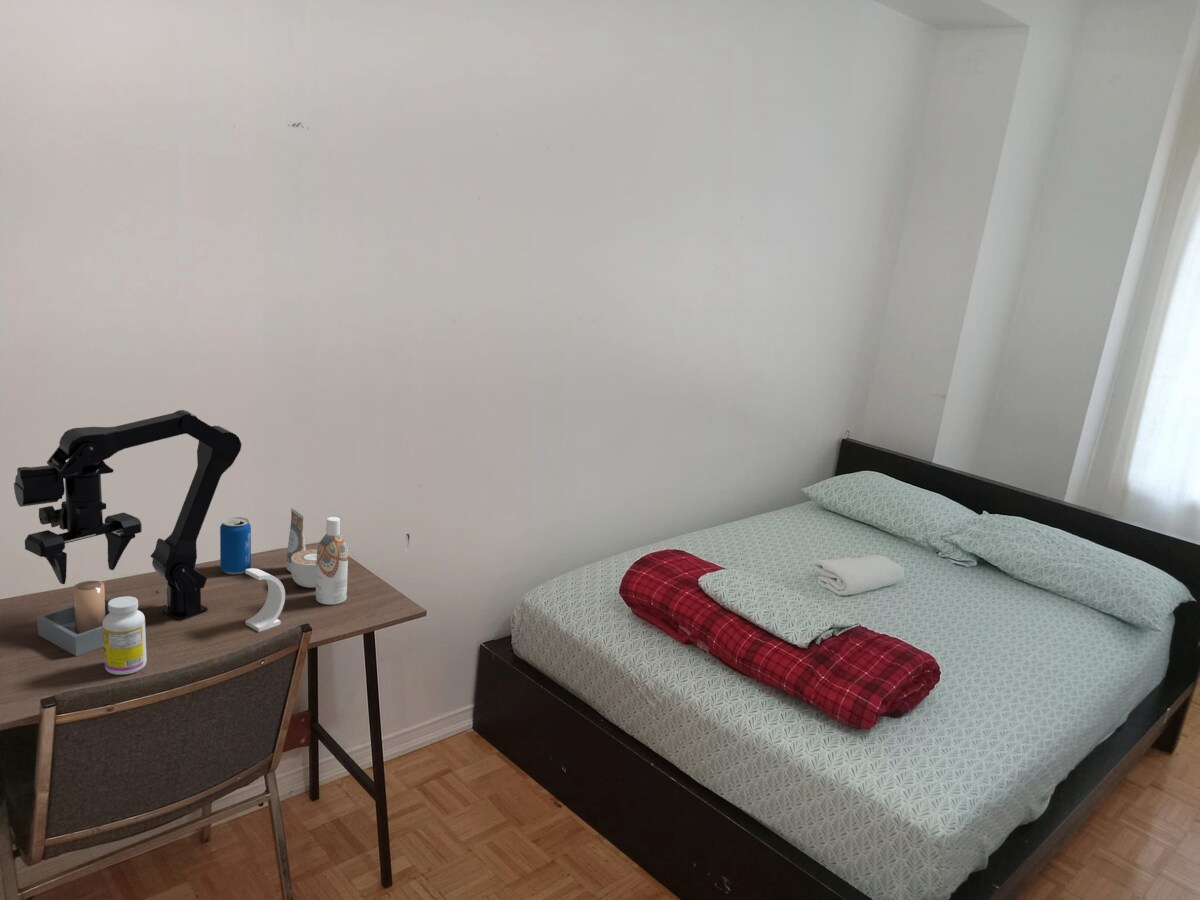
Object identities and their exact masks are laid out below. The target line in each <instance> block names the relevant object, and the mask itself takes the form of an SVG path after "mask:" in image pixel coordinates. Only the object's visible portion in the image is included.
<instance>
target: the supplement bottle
mask: <svg viewBox="0 0 1200 900" xmlns="http://www.w3.org/2000/svg"><path fill="white" fill-rule="evenodd" d="M138 608H139V600H138V598H137V597H134V596H129V595H128V596H119V597H115V598H112V599H111V600H110V601H109V602H108V610H109V612H110V613H109V614H108V615H106V616H105V618H104V619H103V640H104V647H103V653H104V654H103V657H104V659H103V661H104V668H105V670H106V672H108V673H110V674H112V675H115V676H116V675H117V676H120V675H122V676H124V675H130V674H133V673H137V672H139V671H140V670H142V669H143V668H144V667H146V665H147V662H148V661H147V640H146V639H147V634H146V617H145V615H144V612H142V611H140V610H139V609H138Z"/></svg>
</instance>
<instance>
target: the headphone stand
mask: <svg viewBox="0 0 1200 900" xmlns="http://www.w3.org/2000/svg"><path fill="white" fill-rule="evenodd" d="M244 574H246V575H249V576H250V577H252V578H253V579H256V580H258V581H263V580H264V581H265V582H266V584H267V595H266V596H267V597H266V600H265V602H264V604H263V605H262V607H261V608H260V610H259V611H258V612H257V613H256V614H255V615H254V616H252V617H251V618H248V619H246V620H245V625H246V626H248V627H249V628H251V629H253V630H254V631H256V632H258V633H260V632H263V631H266V630H269V629H271V628H273V627H277V626H280V625H281V622H282V621H281V620H280V619H278V617H279V616H280V615H281V613H282V611H283V608H284V606H285V603H286V590H285V586H284V585H283V583H282V582H281V580H280V579H279V578H278V577H276V576H274V575H272V574H270V573H268V572H266V571H263V570H261V569H259V568H253V567H252V568H250V569H245V573H244Z"/></svg>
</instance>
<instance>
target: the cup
mask: <svg viewBox="0 0 1200 900" xmlns="http://www.w3.org/2000/svg"><path fill="white" fill-rule="evenodd" d="M105 595H106V594H105V583H104V582H103V581H100V580H86V581H81V582H79V583H76V584H74V586H73V602H74V604H73V605H74V606H75V629H76V633H77V634H80V633H83V632H86V631H89V630H92V629H95V628H98V627H101V626H103V619H104V618H105V597H106V596H105Z"/></svg>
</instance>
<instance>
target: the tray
mask: <svg viewBox="0 0 1200 900" xmlns="http://www.w3.org/2000/svg"><path fill="white" fill-rule="evenodd" d="M110 600H112V599H111V598H109V597H106V596H105V616H106V615H108V614H109V613H110V612H109V610H108V602H109V601H110ZM36 623H37V624H36V626H37V635H38V636H39V637H41V638H43V639H45V640H46V641H48V642H51V643H52V644H54V646H57V647H58V648H60V649H63V650H64V651H66V652H68V653H69V654H71V655H74V656H75V657H79V656H81V655H82V656H83V655H84V654H86V653H89V652H92V651H95V650H97V649H101V648H104V640H103V626H101V627H98V628H95V629H92V630H89V631H86V632H83V633H80V634H77V633H76V629H75V606H74V604H72V605H69V606H66V607H63V608H59V609H56V610H53V611H49V612H47V613H43V614H41V615H38V616H36Z"/></svg>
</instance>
